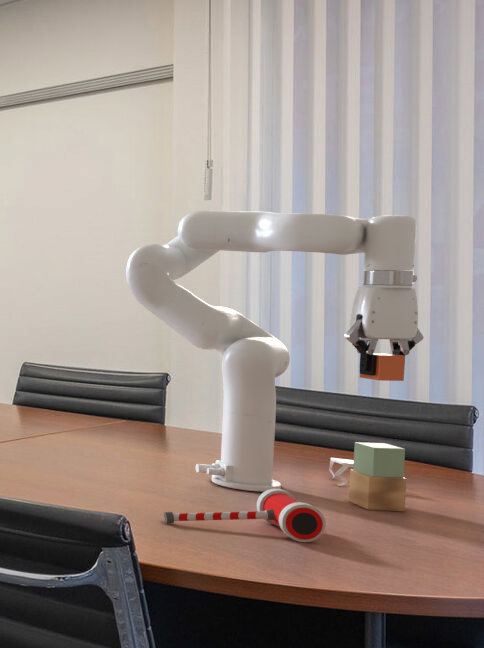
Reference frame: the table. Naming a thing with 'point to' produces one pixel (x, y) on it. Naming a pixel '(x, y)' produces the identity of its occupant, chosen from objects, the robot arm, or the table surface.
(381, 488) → the base block
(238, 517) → the toy hammer
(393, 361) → the top block
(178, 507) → the table surface
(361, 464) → the middle block
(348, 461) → the origami figure
